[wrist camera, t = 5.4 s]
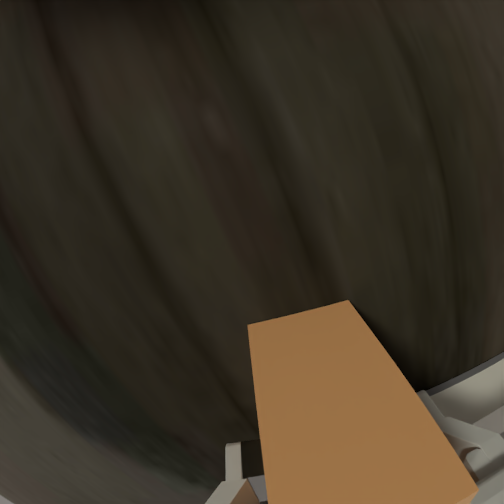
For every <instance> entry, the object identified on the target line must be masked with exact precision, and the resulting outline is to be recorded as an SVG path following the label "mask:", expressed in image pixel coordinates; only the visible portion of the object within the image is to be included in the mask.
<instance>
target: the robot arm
mask: <svg viewBox="0 0 504 504" xmlns="http://www.w3.org/2000/svg"><path fill="white" fill-rule="evenodd" d="M416 394H417V395H418V397H419V398H420V400H421V401H422V402H423V404H424V405H425V407H426V408H427V410H428V411H429V413H430V414H431V416H432V417H433V419H434V420H435V422H436V423H437V425H438V426H439V428H440V429H441V431H442V432H443V434H444V435H445V437H446V438H447V440H448V441H449V443H450V444H451V446H452V447H453V449H454V450H455V452H456V453H457V455H458V457H459V458H460V460H461V461H462V463H463V464H464V466H465V468H466V469H467V471H468V472H469V474H470V476H471V477H472V479H473V480H474V482H475V484H476V485H477V487H478V489H479V491H478V492H477V494H476V495H475V497H474V498H473V499H472V501H471V502H470V504H504V439H503V438H502V437H501V435H500V434H498V433H495V432H492V431H489V430H486V429H483V428H480V427H477V426H474V425H471V424H469V423H466V422H463V421H460V420H457V419H455V418H452V417H446V418H445V417H444V415H443V414H442V413H441V411H440V410H439V408H438V407H437V406H436V404H435V403H434V402H433V400H432V399H431V398H430V396H429V395H428V393H427V392H426V391H424V390H422V391H419V392H417V393H416ZM225 449H226V481H223V482H221V483H220V485H219V486H218V487H217V489H216V490H215V491H214V493H213V494H212V495H211V496H210V498H209V499H208V500H207V502H206V503H205V504H259V502H261V501H266V500H268V498H267V490H266V482H265V474H264V466H263V457H262V449H261V441H260V439H256V440H250V441H243V442H236V443H229V444H226V448H225Z"/></svg>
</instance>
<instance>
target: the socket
mask: <svg viewBox="0 0 504 504" xmlns="http://www.w3.org/2000/svg"><path fill="white" fill-rule="evenodd" d="M426 392H427V393H428V395H429V396H430V398H431V399H432V400H433V402H434V403H435V404H436V406H437V407H438V408H439V410H440V411H441V413H442V414H443V415H444V417H445V418H446V417H452V418H455V419H457V420H460V421H463V422H466V423H469V424H471V425H474V426H477V427H480V428H483V429H486V430H489V431H492V432H495V433H498V434H500V435H501V437H502V438H503V439H504V352H502V353H501V354H499V355H497V356H495V357H494V358H492V359H490V360H488V361H486V362H485V363H483V364H481V365H479V366H477V367H475V368H473V369H471V370H469V371H467V372H465V373H463V374H461V375H459V376H457V377H455V378H453V379H451V380H449V381H447V382H445V383H442V384H440V385H438V386H436V387H433V388H431V389H429V390H426Z"/></svg>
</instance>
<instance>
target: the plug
mask: <svg viewBox="0 0 504 504" xmlns="http://www.w3.org/2000/svg"><path fill="white" fill-rule="evenodd" d="M248 334H249V343H250V352H251V362H252V371H253V380H254V389H255V397H256V406H257V415H258V423H259V432H260V441H261V449H262V457H263V466H264V474H265V482H266V490H267V498H268V504H470V502H471V501H472V499H473V498H474V497H475V495H476V494H477V492H478V491H479V489H478V487H477V485H476V484H475V482H474V480H473V479H472V477H471V476H470V474H469V472H468V471H467V469H466V468H465V466H464V464H463V463H462V461H461V460H460V458H459V457H458V455H457V453H456V452H455V450H454V449H453V447H452V446H451V444H450V443H449V441H448V440H447V438H446V437H445V435H444V434H443V432H442V431H441V429H440V428H439V426H438V425H437V423H436V422H435V420H434V419H433V417H432V416H431V414H430V413H429V411H428V410H427V408H426V407H425V405H424V404H423V402H422V401H421V400H420V398H419V397H418V395H417V394H416V392H415V391H414V389H413V388H412V387H411V385H410V384H409V382H408V381H407V379H406V378H405V377H404V375H403V374H402V372H401V371H400V370H399V368H398V367H397V365H396V364H395V363H394V361H393V360H392V358H391V357H390V356H389V354H388V353H387V351H386V350H385V349H384V347H383V346H382V345H381V343H380V342H379V341H378V339H377V338H376V336H375V335H374V334H373V332H372V331H371V330H370V328H369V327H368V326H367V324H366V323H365V322H364V320H363V319H362V318H361V316H360V315H359V314H358V312H357V311H356V310H355V308H354V307H353V306H352V304H351V303H350V302H349V300H346V301H343V302H339V303H335V304H332V305H328V306H324V307H320V308H316V309H312V310H309V311H305V312H301V313H297V314H292V315H288V316H284V317H280V318H276V319H272V320H267V321H263V322H258V323H254V324H250V325H248Z"/></svg>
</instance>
